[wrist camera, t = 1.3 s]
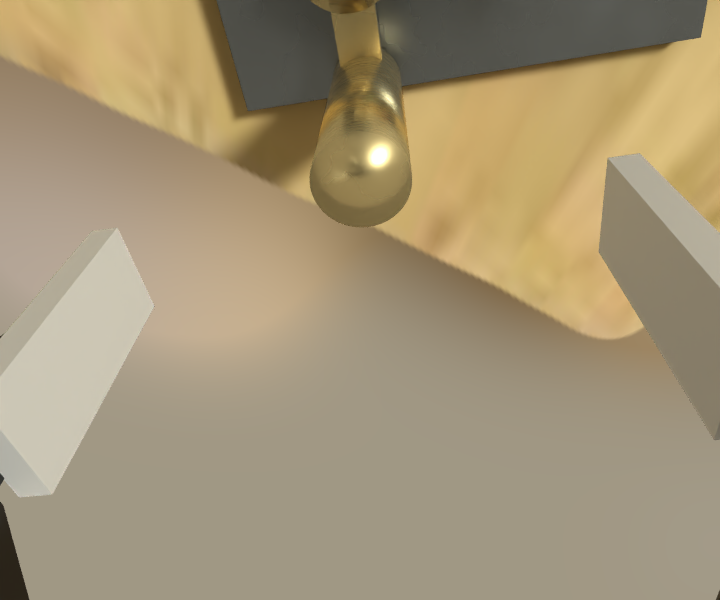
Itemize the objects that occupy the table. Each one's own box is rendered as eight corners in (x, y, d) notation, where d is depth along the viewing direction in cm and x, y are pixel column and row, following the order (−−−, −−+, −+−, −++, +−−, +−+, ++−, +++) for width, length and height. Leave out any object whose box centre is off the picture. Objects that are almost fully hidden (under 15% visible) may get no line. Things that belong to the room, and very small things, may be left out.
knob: (281, -109, 22) (215, -103, 13) (391, -132, 22) (400, -143, 13) (327, 122, 28) (303, 235, 19) (417, 108, 27) (435, 218, 18)
